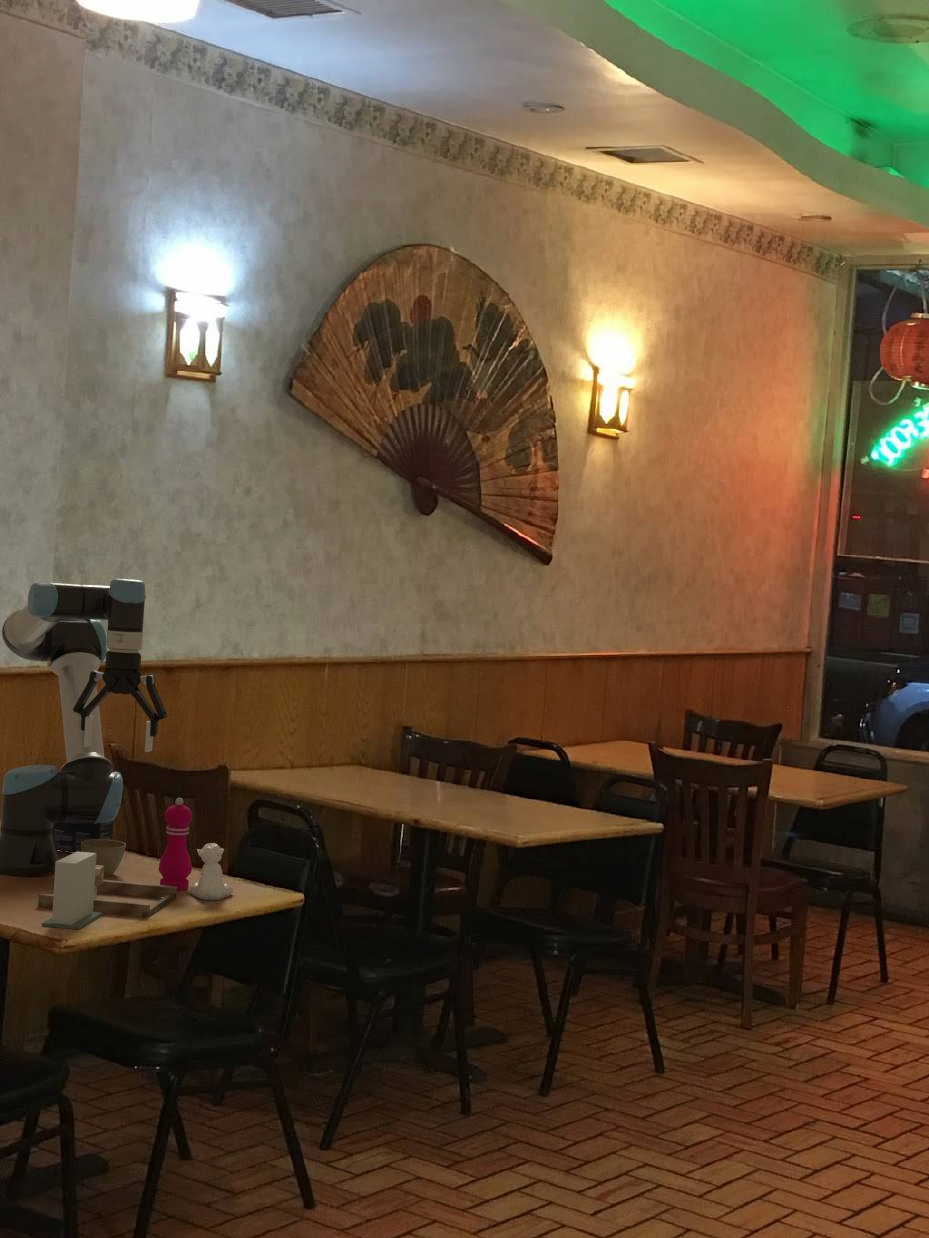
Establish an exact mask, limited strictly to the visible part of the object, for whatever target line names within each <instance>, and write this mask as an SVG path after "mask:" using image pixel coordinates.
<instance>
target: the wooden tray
mask: <svg viewBox="0 0 929 1238" xmlns="http://www.w3.org/2000/svg"><path fill="white" fill-rule="evenodd" d="M96 887H97V893H102V894H103V893H104V894H110V893H111V894H113V895H121V894H122V895H121V896H131V895H132V896H133V897H141V898H152V897H164V898H160V899H159V900H157V901H156V902H154V903H152V904H150V903H148V902H147V903H146V902H136V901H125V900H115V899H103V898H96V899H95V898H94V903H93V911H94V912H103V914H107V915H108V914H110V915H116V916H117V915H119V916H127V917H129V916H130V917H139V918H149V917H150V916H152V915H153V914H154V912H155V911H156V910H158V909H159V908H161V907H162V908H164V907H165V906H166V904H167V903H168V904H169V902H170V901H171V902H172V900H173V899H174V898H176V899H177V892H178V891H177V887H176V886H165V885H160V884H153V883H144V882H132V881H131V882H130V881H123V880H122V881H121V880H111V879H103V883H102V884H101V885H99V886H96ZM53 897H54V892H53V893H51V894H50V893H39V894H38V902H37V908H43V907H44V908H45V909H46V908H47V909H53ZM174 900H175V899H174ZM174 900H173V901H174ZM171 902H170V903H171ZM168 904H167V905H168ZM163 906H164V907H163ZM162 908H161V909H162ZM159 910H160V909H159ZM159 910H158V911H159ZM156 912H157V911H156ZM156 912H155V913H156ZM152 913H153V914H152ZM151 914H152V915H151ZM148 916H149V917H148Z"/></svg>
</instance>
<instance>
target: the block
mask: <svg viewBox="0 0 929 1238" xmlns="http://www.w3.org/2000/svg"><path fill="white" fill-rule="evenodd" d="M95 870H96V853H89V852H78V851H77V852H75V853H70V854H69V855H67V856H65V857H63V858H59V860H58V861H56V863H55V873H54V881H53V882H54V883H53V884H54V885H53V893H54V897H53V908H52V916H51V918H52V923H58V924H68V925H72V924H74V923H76V922H77V921H79V920H81V919H82V918H84V917H86V916H87V915H89V914H91V913H93V903H94V886H95Z"/></svg>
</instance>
